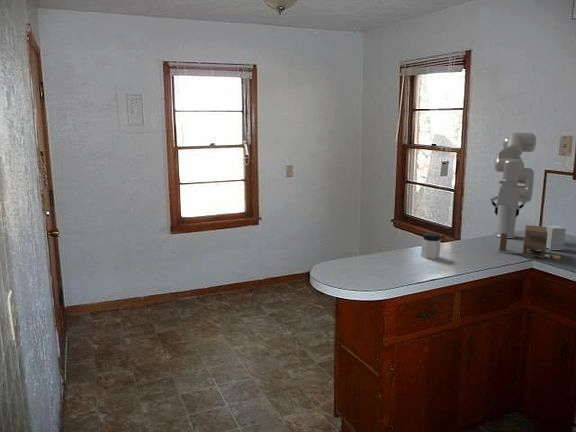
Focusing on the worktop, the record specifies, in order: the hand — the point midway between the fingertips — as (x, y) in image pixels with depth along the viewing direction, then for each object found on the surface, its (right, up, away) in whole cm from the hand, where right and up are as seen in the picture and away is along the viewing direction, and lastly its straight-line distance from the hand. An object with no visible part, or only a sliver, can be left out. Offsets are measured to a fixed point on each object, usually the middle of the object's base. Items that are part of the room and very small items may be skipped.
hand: (506, 215), depth 260 cm
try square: (+9, -21, 0) cm, 22 cm away
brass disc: (+22, -22, -7) cm, 32 cm away
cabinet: (+14, -20, 0) cm, 25 cm away
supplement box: (+31, -19, +11) cm, 38 cm away
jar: (-43, -21, -9) cm, 49 cm away
